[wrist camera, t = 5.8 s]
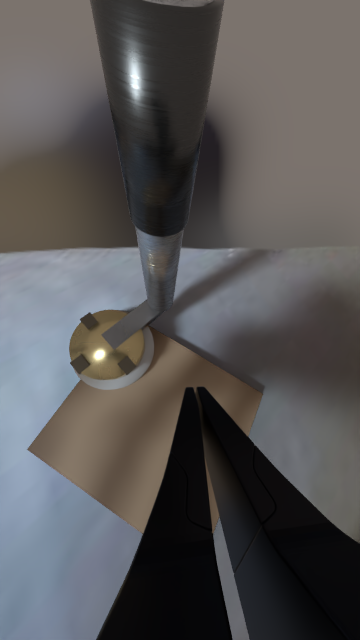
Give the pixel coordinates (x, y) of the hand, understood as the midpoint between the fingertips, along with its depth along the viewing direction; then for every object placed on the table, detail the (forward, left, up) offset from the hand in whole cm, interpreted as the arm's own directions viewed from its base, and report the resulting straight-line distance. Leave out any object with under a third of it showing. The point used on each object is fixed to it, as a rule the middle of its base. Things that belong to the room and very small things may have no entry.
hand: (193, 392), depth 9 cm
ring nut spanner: (+7, -2, -7) cm, 10 cm away
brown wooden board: (+2, +3, -9) cm, 10 cm away
